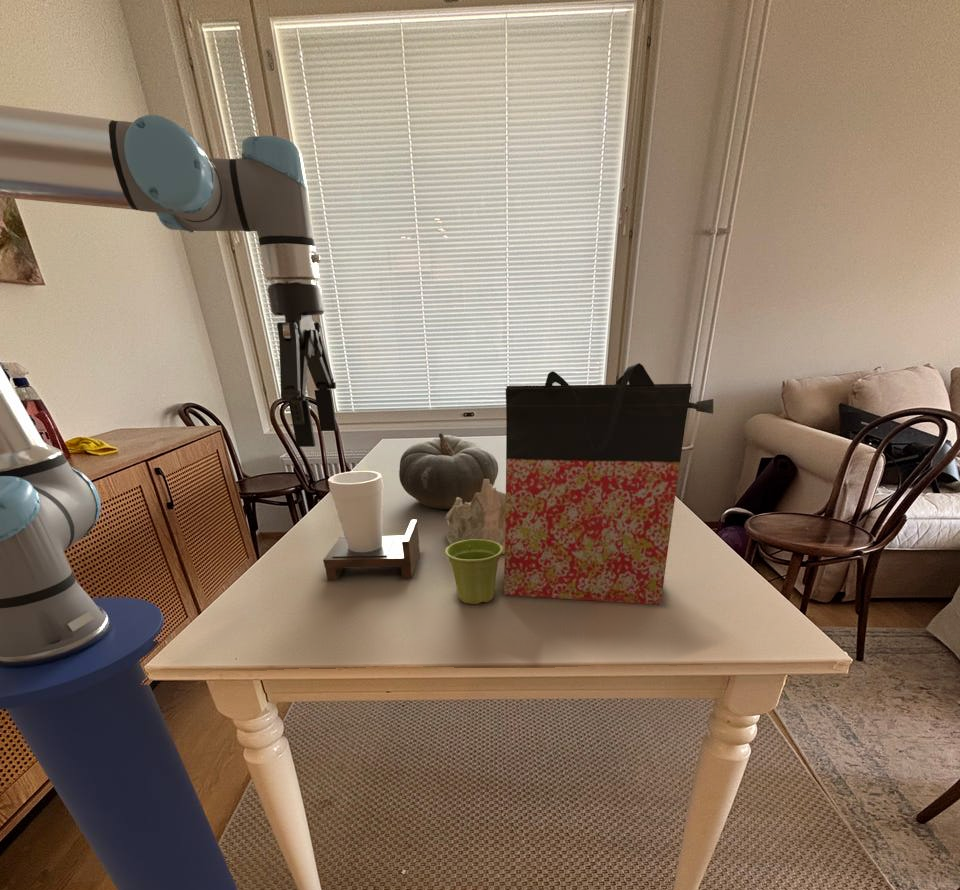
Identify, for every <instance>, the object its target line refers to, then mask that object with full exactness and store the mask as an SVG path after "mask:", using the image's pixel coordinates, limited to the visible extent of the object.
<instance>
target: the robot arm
mask: <svg viewBox="0 0 960 890" xmlns="http://www.w3.org/2000/svg"><path fill="white" fill-rule="evenodd" d="M241 151H242V153H241V157H237V158H220V157H219V158H217V157H209V156H208V155H207V154H206V152H205V150H204V148H203V147H202V146H201V144H200V143H199V142H198V141H197V139H195V137H194V136H193V135H192V134H191V133H190V132H189V131H188V130H186V129H185V128H184V127H181V126H180V125H179V124H178V123H177V122H175V121H173V120H171V119H170V118H167V117H165V116H162V115H158V114H147V115H146V114H145V115H143V116H141V117H138V118H136V119H135V120H134V121H128V120H127V121H126V120H114V119H109V118H101V117H96V116H95V117H94V116H86V115H79V114H71V113H64V112H57V111H49V110H42V109H33V108H27V107H19V106H18V107H17V106H11V105H2V104H0V198H2V199H3V198H5V199H13V200H14V199H16V200H24V201H25V200H26V201H36V202H47V203H58V204H68V205H69V204H70V205H81V206H88V207H89V206H92V207H102V208H112V209H123V210H134V211H139V212H148V213H155V214H156V216H157V217H158V219H159V221H160V223H161V224H162V225H163V226H164V227H165V228H166V229H168V230H172V231H185V232H189V233H191V234H193V233H196V232H246V233H250V232H256V234H257V237H258V244H259V250H260V257H261V262H262V268H263V275H264V279H265V280H266V281H268V282H269V283H270V285H268V287H267V289H266V290H267V294H268V300H269V305H270V312H271V313H272V314H273V315H274V316H284V322H282V321H281V322H279V321H278V322H277V323H276V329H277V334H278V342H279V343H278V344H279V346H278V347H279V375H280V398H281V401H283V402H287V401H288V405H289V411H290V412H289V413H290V418H291V422H292V429H293V433H294V439H295V445H296V447H297V448H310V447H311V448H313V447H316V446H317V445H316V440H315V434H314V433H315V432H314V427H313V421H312V415H311V408H310V403H309V399H306V390H307V376H308V375H307V374H308V372H309V373H310V376H311V379H312V381H313V384H314V386H315V390H314V397H315V404H316V411H317V416H318V423H319V430H320V432H336V431H338V427H337V426H338V425H337V421H336V420H337V419H336V412H335V406H334V399H333V391H332V390H336V389H337V383H336V381H335V378H334V375H333V372H332V368H331V364H330V359H329V356H328V353H327V349H326V345H325V341H324V337H323V332H322V325H321V322H320V321H314V319H313V316H323V314H324V313H325V307H324V306H325V305H324V299H323V292H322V291H323V290H322V288H321V287H320V285H319V284H317V283H316V282H318V281H319V280H320V273H319V265H318V264H320V263H321V261H322V260H321V259H322V258H321V256H320V255H319V254H317V251H316V242H315V236H314V228H313V221H312V220H313V219H312V212H311V203H310V194H309V188H308V183H307V178H306V173H305V165H304V160H303V155H302V152H301V150H300V149H299V147H298V146H297V145H296V144H295V142H293V141H291V140H289V139H288V138H285V137H280V136H275V135H258V136H257V135H256V136H255V135H252V136H247V137H245V139H243V140H242V142H241ZM101 505H102V503H101V497H100V494H99V492H98V490H97V488H96V486H95V485H94V483H93V482H92V481H91V480H90V478H88V477H87V476H86V474H84V473H83V472H82V471H79V470H77V469H76V468H74V467H73V466H71V465H70V463H69V461H68V459H67V458H66V456H65V455H64V452H63V451H62V450H61V449H59V448H57V447H55V446H52V445H51V444H48V443H47V442H46V441H44V440H43V438H42V435H41V434H40V432H39V430H38V429H37V427H36V425H35V423H34V422H33V420H32V417H31V416H30V415H29V413H28V411H27V409H26V408H25V406H24V404H23V402H22V401H21V398H20V397H19V396H18V393H17V392H16V390H15V389H14V387H13V385H12V383H11V381H10V379H9V378H8V376H7V374H6V373H5V371H4V369H3V366H2V365H1V364H0V666H1V667H7V668H25V667H33V666H39V665H44V664H48V663H52V662H56V661H59V660H62V659H65V658H68V657H71V656H73V655H76V654H78V653H80V652H82V651H85V650H87V649H88V648H90V647H92V646H94V645H95V644H97V643H98V642H100V641H101V640H102V639H104V638H105V637H106V636H107V635H108V633H109V632H110V630H111V626H112V625H111V622H110V620H109V618H108V616H107V613H106V612H105V611H104V610H103V609H102V608H101V607H99V606H97V605H96V604H95V603H94V601H93V600H92V598H91V596H90V595H89V594H88V593H87V591H85V590H84V588H83V587H82V586H81V585H80V584H79V582H78V580H77V579H76V577H75V574H74V572H73V571H72V568H71V566H70V563H69V561H68V560H67V559H68V558H67V557H66V555H65V552H66V551H68V549H69V548H71V547H72V546H73V545H74V544H76V543H77V542H78V541H80V540H81V539H82V538H84V537H86V536H88V534H89V533H90V532H91V531H92V530H93V529H94V527H95V525H96V524H97V522H98V521H99V518H100V515H101V512H102V506H101Z"/></svg>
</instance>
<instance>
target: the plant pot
mask: <svg viewBox="0 0 960 890" xmlns="http://www.w3.org/2000/svg"><path fill="white" fill-rule="evenodd" d="M502 551H503V548H502V546H501V545H500V544H499V543H496V542H494V541H490V540H483V539H471V540H464V541H459V542H456V543H453V544H449V545H448V546H447V547H446V548H445V551H444V553H445V556H446V557H447V558H448V561H449V564H450V565H451V568H452V573H453V574H452V575H453V578H454V582H455V587H456V592H457V593H456V594H457V597H458V598H459V600H460V602H463V603H465V604H471V605H478V604H480V603H488V602H490V601H492V600H493V599H494V597H495V591H496V581H497V574H498V573H497V572H498V565H499V561H500V556H501V555H502V554H501V553H502Z"/></svg>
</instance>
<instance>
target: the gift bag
mask: <svg viewBox="0 0 960 890" xmlns="http://www.w3.org/2000/svg"><path fill="white" fill-rule="evenodd" d="M650 376H651V375H649V373H648V372H647V370H646V368H645V367H644V365H643V364H641V363H640V362H638V363H635V364H633V365H630V366H628V367H627V368H626V370H625V371H624V372H623V374H622V376H620V377H619V378H618V380H617V381H616V383H615V384H569V383H568V382H567V381H566V380H565V379H564V378H563V377H562V376H561V375H560V374H558V373H557V372H555V371H550V372H548V374H547V376H546V380H545V383H544V385H506V387H505V415H506V416H505V418H506V419H505V420H506V422H505V423H506V424H505V426H506V428H505V429H506V433H505V436H506V437H505V439H506V440H505V494H506V517H505V554H504V567H503V568H504V569H503V571H504V573H503V596H514V597H515V596H516V597H527V598H528V597H531V598H544V599H545V598H546V599H558V600H559V599H561V600H574V601H575V600H576V601H577V600H578V601H592V602H607V603H623V604H640V605H654V606H655V605H656V606H661V605H662V598H663V591H664V585H665V584H664V583H665V575H666V569H667V568H666V566H667V560H668V552H669V545H670V544H669V543H670V537H671V529H672V523H673V515H674V508H675V502H676V494H677V487H678V480H679V473H680V466H681V460H682V459H681V458H682V451H683V444H684V437H685V430H686V423H687V418H688V412H689V409H693V410H695V411H696V412H700V413H706V414H713V415H714V398H712V399H711V398H709V399H705V400H699V401H696V402H690V400H691V395H692V388H693V386H692V383H655V382H654V381H653V380H652V378H651V377H650ZM555 383H556V384H555ZM557 384H558V385H557Z"/></svg>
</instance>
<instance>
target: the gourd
mask: <svg viewBox="0 0 960 890" xmlns="http://www.w3.org/2000/svg"><path fill="white" fill-rule="evenodd" d="M399 461H400V462H399V471H398V477H399V478H398V479H399V482H400V484H401V486H402V488H403V489H404V491H405V492H406V493H407V494H408V495H409V496H410V497H412V498H414V499H415V500H416V501H417V502H418V503H419V504H422V505H424V506H426V507H429V508H432V509H437V510H450V509H451V508H452V506H453V505H454V503H455V502H456V498H457V497H459V498H461V499H462V503H463V505H464V503H465V502H467V503H470V502H472V500H473V497H474V495H475V493H479V492H481V489H482V485H483V480H484V479H489V480H490V484H492V486H493V487H494V485H495V482H496V480H497V477H498V474H499V464H498V461H497V459H496V458H495V456H494V455H493V454H492V453H490V452H489V451H488V450H486V449H484V448H483V447H482V446H480V445H478V444H477V443H475V442H473V441H471V440H469V439H462V438H460V437H458V436H455V435H450V434H445V435H443V433H442V432H439V433H438V438H434V439H431V440H428V441H423V442H417V443H415V444H412V445H411V446H409V447H408V448H407V449H405V451H404V452H403V454H402V455H401V457H400V460H399Z"/></svg>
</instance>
